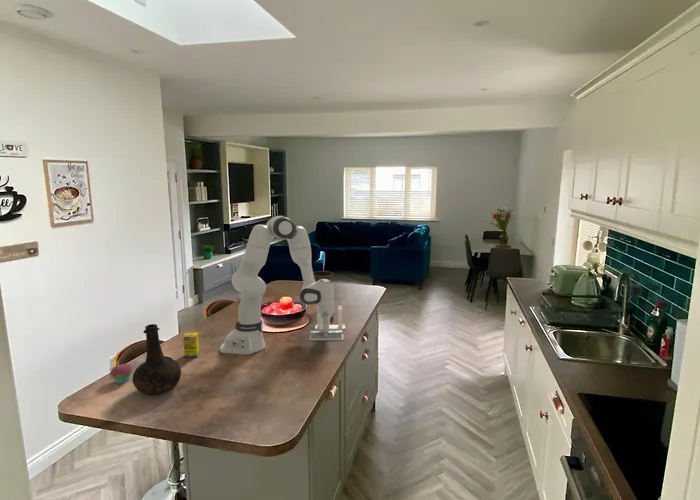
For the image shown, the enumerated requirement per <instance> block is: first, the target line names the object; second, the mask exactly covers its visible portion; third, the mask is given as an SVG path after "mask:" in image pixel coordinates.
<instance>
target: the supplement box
mask: <svg viewBox="0 0 700 500" xmlns="http://www.w3.org/2000/svg"><path fill="white" fill-rule="evenodd" d="M199 339H200V338H199V332H197V331H196V332H185V334H184V335H183V337H182V340H183V351H184V352H183V354H184V358H185V359H191V358H198V357H199V354H200V340H199Z"/></svg>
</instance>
